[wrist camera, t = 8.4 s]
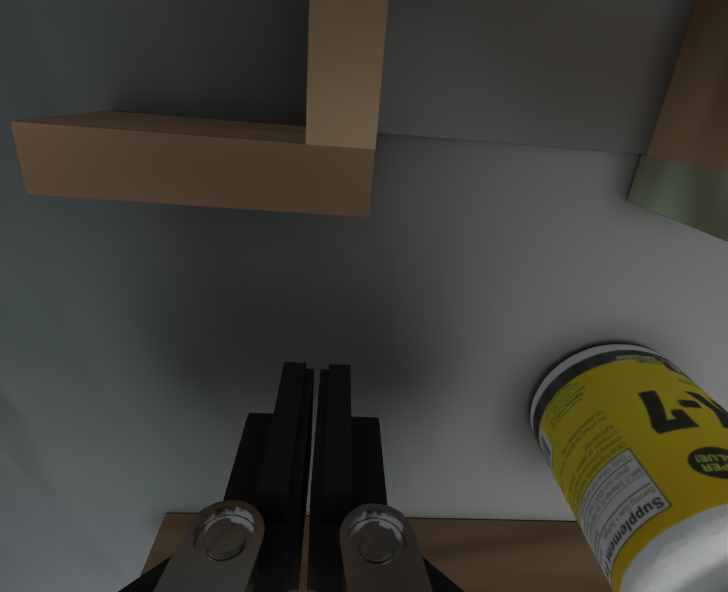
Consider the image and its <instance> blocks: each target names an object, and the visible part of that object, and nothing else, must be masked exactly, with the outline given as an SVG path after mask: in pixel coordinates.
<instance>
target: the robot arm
mask: <svg viewBox="0 0 728 592" xmlns="http://www.w3.org/2000/svg"><path fill="white" fill-rule="evenodd" d="M313 386H314V369H306V363H294V362H285V363H284V367H283V372H282V376H281V381H280V386H279V391H278V395H277V400H276V405H275V410H274V414H267V413H249V414H248V417H247V420H246V423H245V427H244V430H243V434H242V437H241V441H240V444H239V448H238V451H237V455H236V458H235V462H234V465H233V469H232V472H231V476H230V479H229V483H228V486H227V490H226V493H225V496H224V500H223V501H222V502H218V503H214V504H212V505H210V506H208V507H206V508H204V509H203V510H202V511H201V512H199V513H198V514H197V515H196V516H195V517H194V518H193V519H192V521H191V522H190V524H189V525H188V526H187V528H186V530H185V532H184V534H183V536H182V538H181V540H180V542H179V544H178V545H177V547H176V549H175V551H174V553H173V555H171V556H170V557H168V558H167V559H166V560H164V561H163V562H161V563H160V564H158V565H157V566H155V567H154V568H152V569H151V570H149V571H148V572H146V573H145V574H143V575H142V576H141V577H139V578H138V579H136V580H135V581H133V582H132V583H130V584H129V585H127V586H126V587H124V588H123V589H121V590H120V591H118V592H289V591H298V590H299V582H300V571H301V560H302V548H303V537H304V526H305V515H306V504H307V493H308V482H309V471H310V459H311V439H312V412H313ZM307 591H317V592H464V591H463V590H462V589H461V588H460V587H458V586H457V585H456V584H455V583H454V582H452V581H451V580H450V579H449V578H448V577H447V576H445V575H444V574H443V573H442V572H441V571H439V570H438V569H437V568H436V567H435V566H434V565H432V564H431V563H430V562H429V561H428V560H426V559H425V558H424V557H423V556H422V555H421V552H420V549H419V546H418V543H417V540H416V536H415V533H414V530H413V528H412V526H411V524H410V522H409V521H408V520H407V519H406V518H405V516H404V515H403V514H402V513H400V512H399V511H397V510H396V509H394V508H392V507H390V506H387V497H386V487H385V477H384V466H383V456H382V446H381V436H380V426H379V419H378V418H376V417H351V379H350V365H340V364H329V370H325V369H321V372H320V384H319V396H318V408H317V420H316V432H315V444H314V456H313V468H312V481H311V496H310V520H309V546H308V571H307Z"/></svg>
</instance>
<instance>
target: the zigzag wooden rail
mask: <svg viewBox="0 0 728 592" xmlns="http://www.w3.org/2000/svg"><path fill="white" fill-rule="evenodd" d="M10 123H11V127H12V132H13V136H14V141H15V145H16V149H17V154H18V158H19V163H20V167H21V171H22V176H23V180H24V185H25V189H26V194H27V195H40V196H54V197H69V198H84V199H99V200H114V201H129V202H144V203H159V204H174V205H189V206H203V207H218V208H233V209H248V210H263V211H278V212H293V213H308V214H323V215H337V216H352V217H367V218H370V207H371V196H372V184H373V173H374V161H375V149H376V138H377V133H384V134H397V135H409V136H422V137H434V138H446V139H459V140H471V141H484V142H496V143H509V144H521V145H534V146H546V147H558V148H571V149H583V150H596V151H608V152H621V153H633V154H641V158H640V161H639V164H638V167H637V170H636V173H635V176H634V180H633V183H632V186H631V189H630V192H629V195H628V198H627V201H629V202H631V203H634V204H636V205H639V206H641V207H644V208H646V209H649V210H651V211H654V212H656V213H658V214H661V215H663V216H666V217H668V218H671V219H673V220H676V221H678V222H681V223H683V224H686V225H688V226H691V227H693V228H696V229H698V230H700V231H703V232H705V233H708V234H710V235H713V236H715V237H718V238H720V239H723V240H725V241H728V0H309V28H308V68H307V108H306V126H294V125H282V124H269V123H257V122H244V121H232V120H219V119H207V118H195V117H182V116H170V115H157V114H145V113H133V112H120V111H102V112H92V113H83V114H73V115H64V116H55V117H45V118H36V119H26V120H17V121H10ZM196 515H197V514H167V513H166V515H165V517H164V520H163V522H162V525H161V527H160V529H159V532H158V534H157V537H156V539H155V542H154V544H153V546H152V549H151V551H150V554H149V556H148V558H147V561H146V563H145V566H144V568H143V571H142V573H141V575H140V577H141V576H142V575H143V574H145V573H146V572H148V571H149V570H151V569H152V568H154V567H155V566H157V565H158V564H160V563H161V562H163V561H164V560H166V559H167V558H168V557H170V556H171V555H173V553H174V551H175V549H176V547H177V545H178V544H179V542H180V540H181V538H182V536H183V534H184V532H185V530H186V528H187V526H188V525H189V524H190V522H191V521H192V519H193V518H194V517H195V516H196ZM406 519H407V520H408V521H409V522H410V524H411V526H412V528H413V530H414V533H415V536H416V540H417V543H418V546H419V549H420V552H421V555H422V556H423V557H424V558H425V559H426V560H428V561H429V562H430V563H431V564H432V565H434V566H435V567H436V568H437V569H438V570H439V571H441V572H442V573H443V574H444V575H445V576H447V577H448V578H449V579H450V580H451V581H452V582H454V583H455V584H456V585H457V586H458V587H460V588H461V589H462V590H463V591H464V592H613V590H612V588H611V586H610V584H609V582H608V580H607V578H606V576H605V574H604V572H603V570H602V568H601V566H600V564H599V562H598V560H597V558H596V557H595V555H594V553H593V551H592V549H591V547H590V545H589V543H588V541H587V539H586V537H585V535H584V533H583V531H582V529H581V527H580V525H579V523H578V522H556V521H508V520H459V519H410V518H406ZM309 520H310V516H305V526H304V537H303V548H302V560H301V571H300V582H299V590H298V591H289V592H317V591H307V571H308V546H309Z"/></svg>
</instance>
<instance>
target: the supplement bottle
mask: <svg viewBox="0 0 728 592" xmlns="http://www.w3.org/2000/svg"><path fill="white" fill-rule="evenodd" d="M530 420H531V427H532V431H533V434H534V436H535V438H536V441H537V442H538V444H539V446H540V449H541V451H542V453H543V454H544V456H545V458H546V460H547V462H548V464H549V466H550V468H551V470H552V472H553V474H554V476H555V478H556V480H557V482H558V484H559V486H560V488H561V490H562V492H563V494H564V496H565V498H566V500H567V502H568V504H569V506H570V508H571V510H572V511H573V513H574V515H575V517H576V519H577V521H578V523H579V525H580V527H581V529H582V531H583V533H584V535H585V537H586V539H587V541H588V543H589V545H590V547H591V549H592V551H593V553H594V555H595V557H596V558H597V560H598V562H599V564H600V566H601V568H602V570H603V572H604V574H605V576H606V578H607V580H608V582H609V584H610V586H611V588H612V590H613V592H728V412H727V411H726V410H725V409H724V408H722V407H721V406H720V405H719V404H718V403H717V402H715V401H714V400H713V399H712V398H711V397H710V396H709V395H708V394H706V393H705V392H704V391H703V390H702V389H701V388H700V387H698V386H697V385H696V384H695V383H694V382H693V381H692V380H691V379H690V378H689V377H687V376H686V375H685V374H684V373H683V372H682V371H681V370H679V369H678V368H677V367H676V366H675V365H673V364H672V363H671V362H670V361H669V360H667V359H666V358H665V357H663V356H662V355H660V354H658V353H656V352H654V351H652V350H650V349H647V348H643V347H639V346H634V345H625V344H611V345H603V346H597V347H593V348H590V349H587V350H584V351H582V352H580V353H577V354H575V355H573V356H571V357H570V358H568V359H566V360H565V361H563V362H562V363H561V364H559V365H558V366H557V367H556V368H555V369H554V370H552V371H551V372H550V373H549V375H548V376H547V377H546V378H545V379H544V381H543V382H542V383H541V385H540V387H539V389H538V390H537V392H536V394H535V397H534V400H533V403H532V407H531V415H530Z"/></svg>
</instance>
